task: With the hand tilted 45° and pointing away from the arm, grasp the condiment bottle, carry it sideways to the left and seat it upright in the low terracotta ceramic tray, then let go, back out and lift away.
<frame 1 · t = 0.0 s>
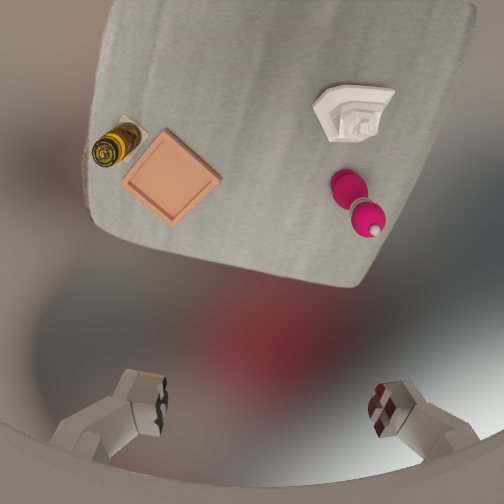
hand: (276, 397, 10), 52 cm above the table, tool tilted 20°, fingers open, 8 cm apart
white stepped rock sculpture: (347, 111, 51), on the table
pepper mill: (344, 182, 60), on the table
tray: (170, 177, 59), on the table
condiment: (126, 138, 54), on the table
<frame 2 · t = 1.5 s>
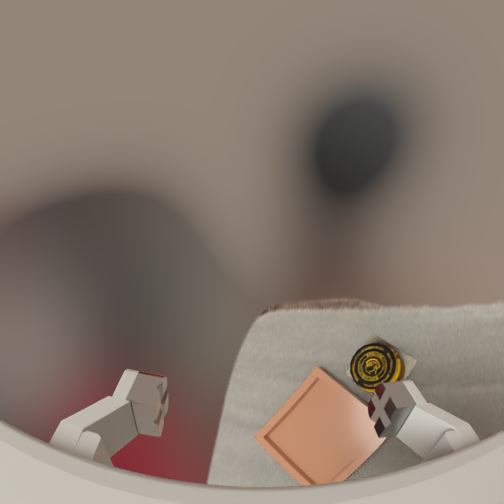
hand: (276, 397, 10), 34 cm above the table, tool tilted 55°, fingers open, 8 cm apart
tray: (324, 434, 37), on the table
condiment: (381, 368, 37), on the table
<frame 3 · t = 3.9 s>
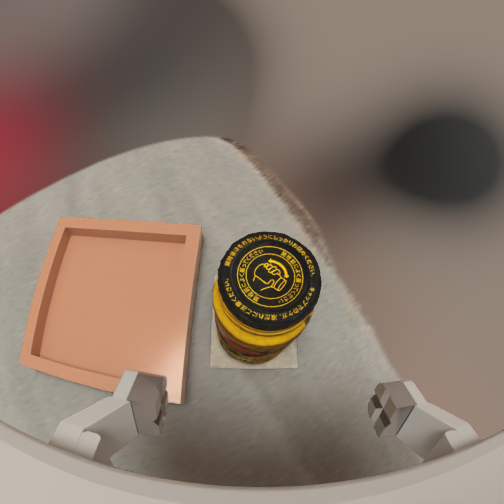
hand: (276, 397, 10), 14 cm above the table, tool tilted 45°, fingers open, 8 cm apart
tray: (112, 305, 24), on the table
condiment: (253, 321, 25), on the table
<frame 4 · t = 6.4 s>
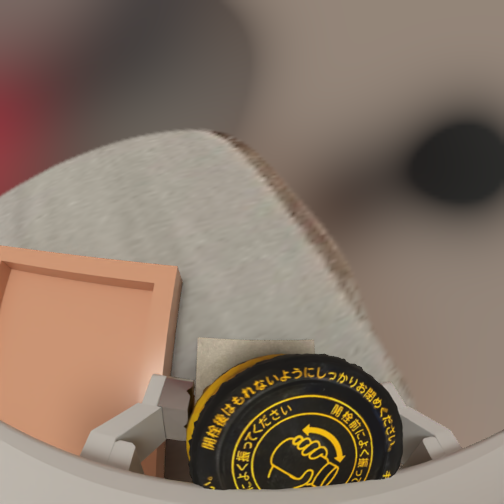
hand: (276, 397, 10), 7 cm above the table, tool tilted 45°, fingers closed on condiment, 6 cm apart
tray: (61, 373, 15), on the table
condiment: (255, 406, 16), on the table, touching gripper
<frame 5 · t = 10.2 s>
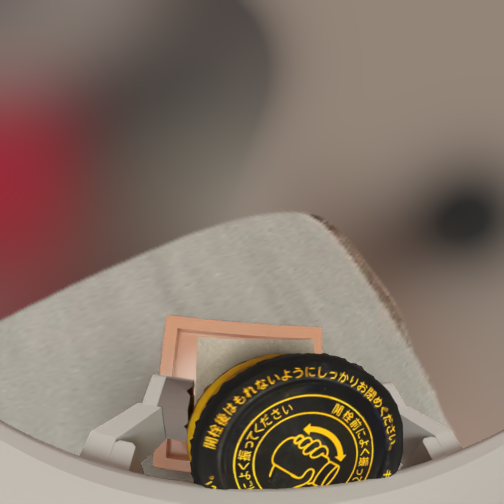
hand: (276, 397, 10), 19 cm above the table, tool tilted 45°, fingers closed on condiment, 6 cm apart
tray: (239, 400, 27), on the table
condiment: (255, 405, 16), point 12 cm above the table, touching gripper
when the fingers open (9 cm above the table, at t = 13.7 s): condiment stays where it is, resting on tray.
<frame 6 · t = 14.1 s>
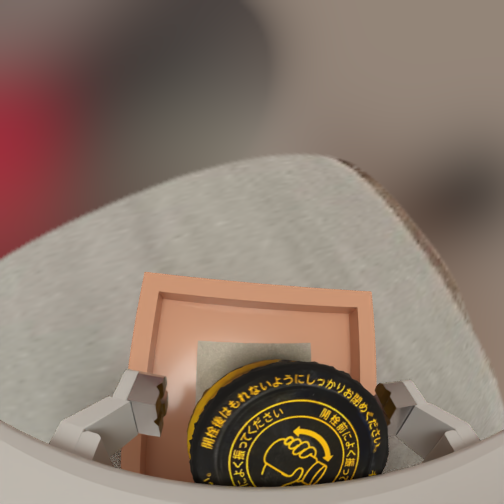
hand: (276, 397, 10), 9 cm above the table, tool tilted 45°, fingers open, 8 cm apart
tray: (251, 404, 17), on the table
condiment: (254, 407, 17), point 1 cm above the table, touching tray
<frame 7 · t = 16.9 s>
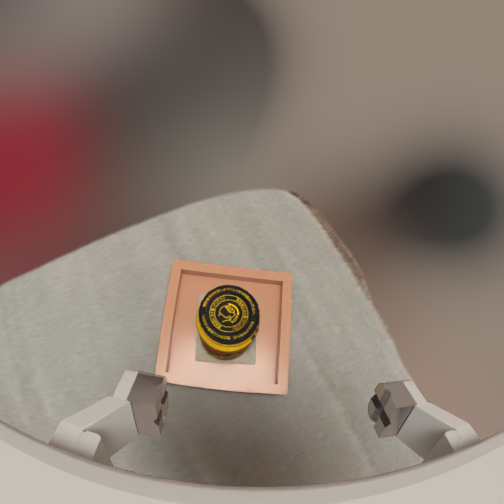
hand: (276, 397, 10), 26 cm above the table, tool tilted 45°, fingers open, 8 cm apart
tray: (226, 330, 36), on the table
condiment: (226, 329, 36), point 1 cm above the table, touching tray
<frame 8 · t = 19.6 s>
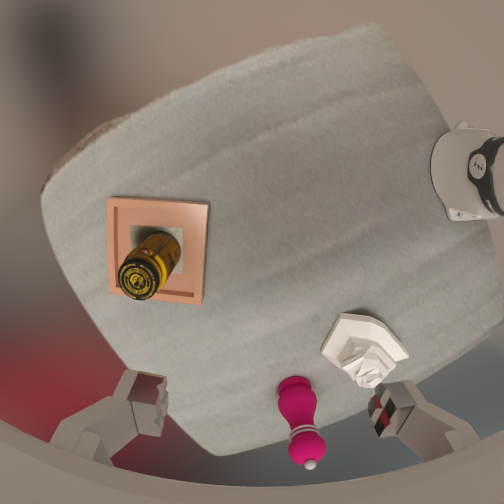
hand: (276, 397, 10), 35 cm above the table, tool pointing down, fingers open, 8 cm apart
white stepped rock sculpture: (356, 338, 51), on the table
pepper mill: (293, 386, 54), on the table
tray: (157, 248, 44), on the table
condiment: (156, 249, 44), point 1 cm above the table, touching tray
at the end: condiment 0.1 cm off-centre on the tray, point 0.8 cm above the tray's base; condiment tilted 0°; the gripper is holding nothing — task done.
